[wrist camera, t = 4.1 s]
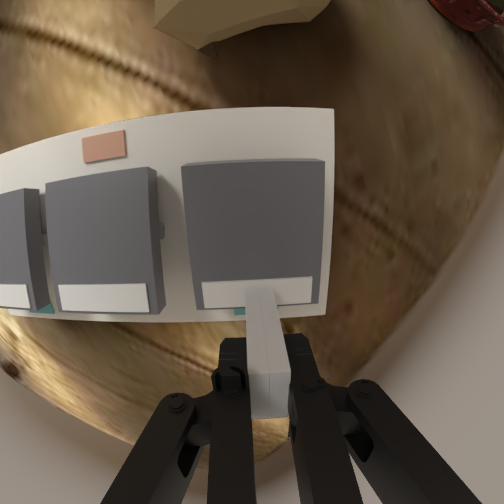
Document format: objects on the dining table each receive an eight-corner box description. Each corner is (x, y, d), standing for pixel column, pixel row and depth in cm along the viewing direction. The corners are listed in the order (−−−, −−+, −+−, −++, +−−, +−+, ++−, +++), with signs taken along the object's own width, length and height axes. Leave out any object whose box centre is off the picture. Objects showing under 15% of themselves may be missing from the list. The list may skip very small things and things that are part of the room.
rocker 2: (186, 163, 15) (180, 166, 13) (316, 158, 15) (325, 161, 14) (200, 294, 18) (196, 311, 16) (311, 288, 18) (319, 304, 17)
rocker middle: (60, 184, 16) (43, 183, 14) (156, 170, 16) (146, 166, 14) (71, 304, 17) (57, 312, 15) (166, 304, 17) (158, 315, 15)
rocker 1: (-17, 202, 16) (-32, 202, 14) (39, 189, 16) (22, 187, 14) (-6, 300, 17) (-21, 306, 15) (50, 303, 17) (35, 311, 15)
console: (6, 157, 19) (-36, 168, 14) (313, 114, 20) (339, 107, 15) (35, 292, 25) (5, 322, 19) (310, 285, 26) (328, 325, 20)
